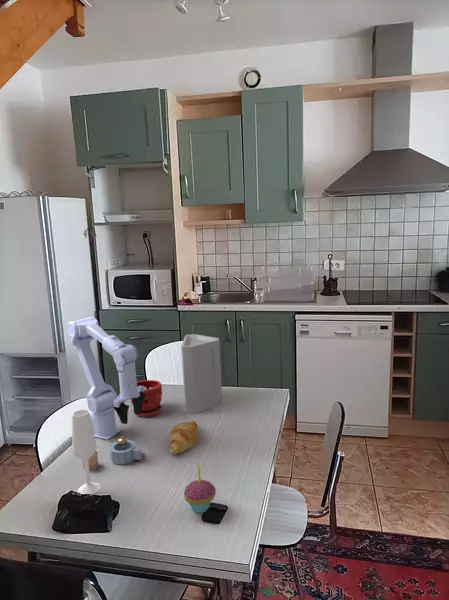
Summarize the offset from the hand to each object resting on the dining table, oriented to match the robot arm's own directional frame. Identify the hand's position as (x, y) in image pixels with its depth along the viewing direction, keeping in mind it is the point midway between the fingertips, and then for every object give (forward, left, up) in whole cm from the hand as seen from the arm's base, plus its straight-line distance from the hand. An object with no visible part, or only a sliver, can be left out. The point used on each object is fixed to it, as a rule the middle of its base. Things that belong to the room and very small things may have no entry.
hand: (131, 418), depth 152 cm
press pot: (+2, -8, -10) cm, 13 cm away
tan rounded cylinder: (-5, -16, -10) cm, 20 cm away
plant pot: (-11, +25, -11) cm, 30 cm away
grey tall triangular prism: (+8, +40, -11) cm, 42 cm away
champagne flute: (+3, -26, -10) cm, 28 cm away
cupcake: (+38, -22, -10) cm, 45 cm away
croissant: (+15, +8, -11) cm, 20 cm away
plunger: (+2, -8, -10) cm, 12 cm away
